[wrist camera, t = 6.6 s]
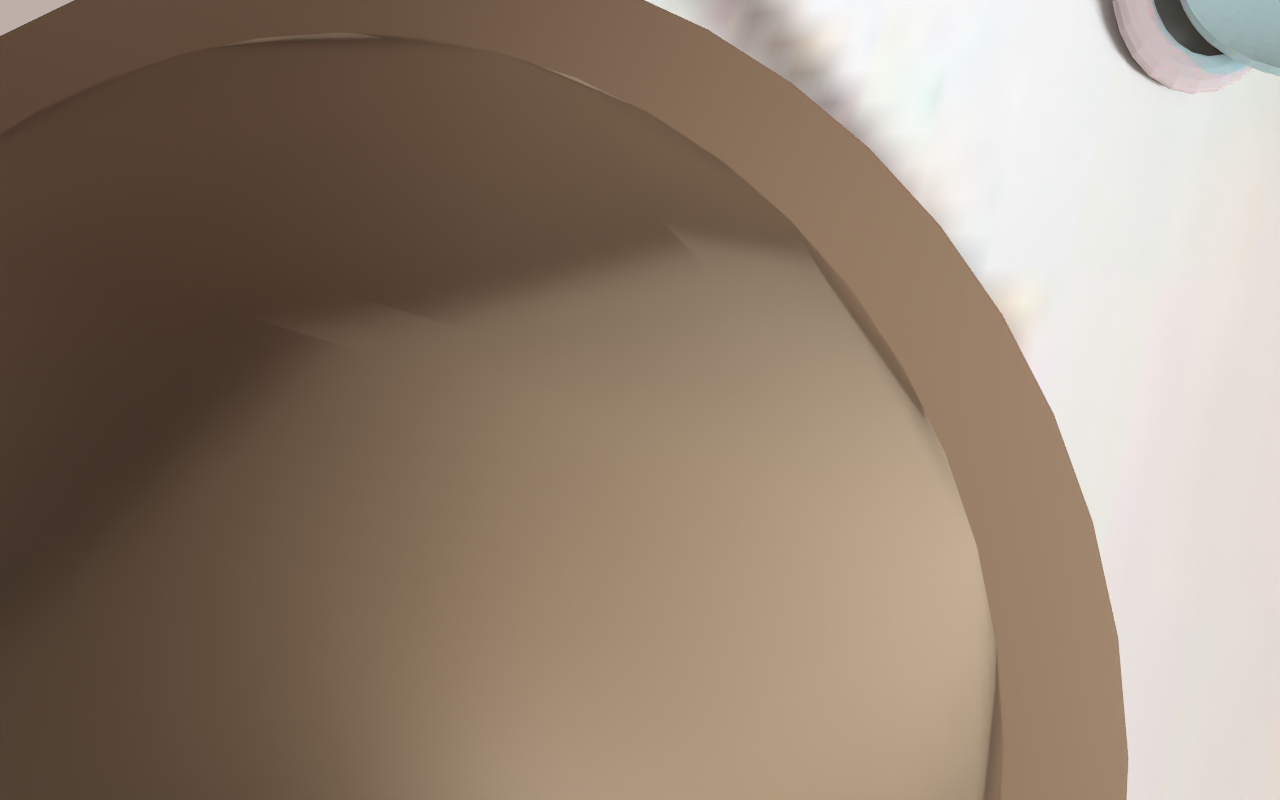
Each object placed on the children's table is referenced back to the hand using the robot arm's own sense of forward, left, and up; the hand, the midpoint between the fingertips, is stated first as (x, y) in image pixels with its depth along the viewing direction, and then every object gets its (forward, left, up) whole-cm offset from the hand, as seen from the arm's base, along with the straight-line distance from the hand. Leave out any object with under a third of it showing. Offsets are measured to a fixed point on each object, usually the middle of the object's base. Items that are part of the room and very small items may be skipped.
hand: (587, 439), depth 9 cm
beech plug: (-1, -1, -7) cm, 7 cm away
